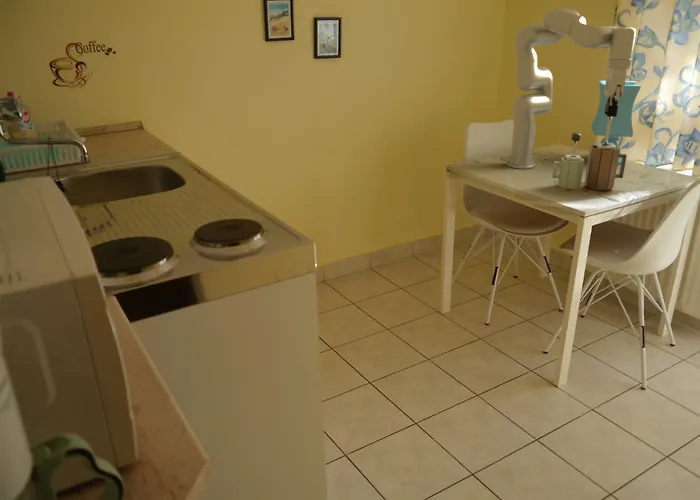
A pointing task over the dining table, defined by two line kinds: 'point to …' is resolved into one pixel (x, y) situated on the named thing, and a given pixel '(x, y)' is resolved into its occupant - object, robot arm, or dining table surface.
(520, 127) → the robot arm
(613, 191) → the walnut board
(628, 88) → the planter
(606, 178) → the brown coffee press
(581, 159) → the green press
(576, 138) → the green press plunger
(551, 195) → the dining table surface
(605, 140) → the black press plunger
